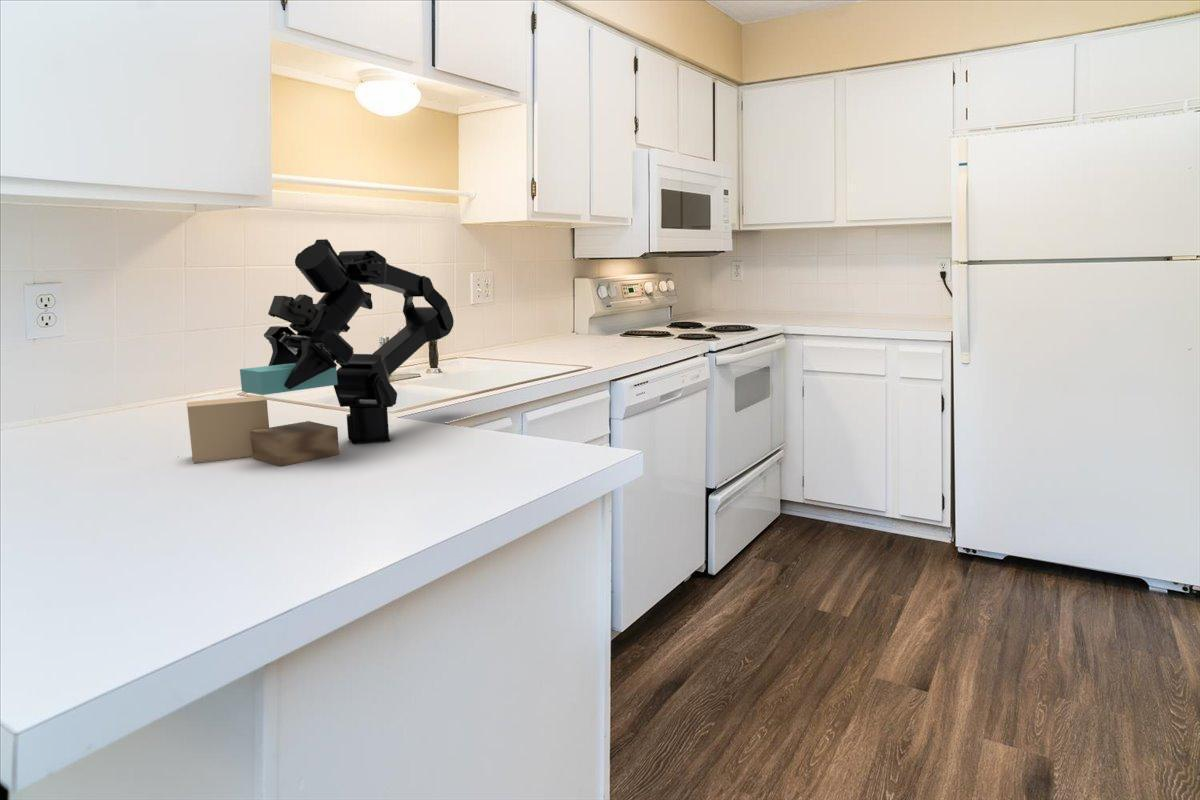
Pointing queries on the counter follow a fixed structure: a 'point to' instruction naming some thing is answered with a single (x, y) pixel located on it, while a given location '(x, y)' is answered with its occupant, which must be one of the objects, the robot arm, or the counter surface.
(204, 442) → the box
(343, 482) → the counter surface
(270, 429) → the walnut block
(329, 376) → the lid
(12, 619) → the counter surface
